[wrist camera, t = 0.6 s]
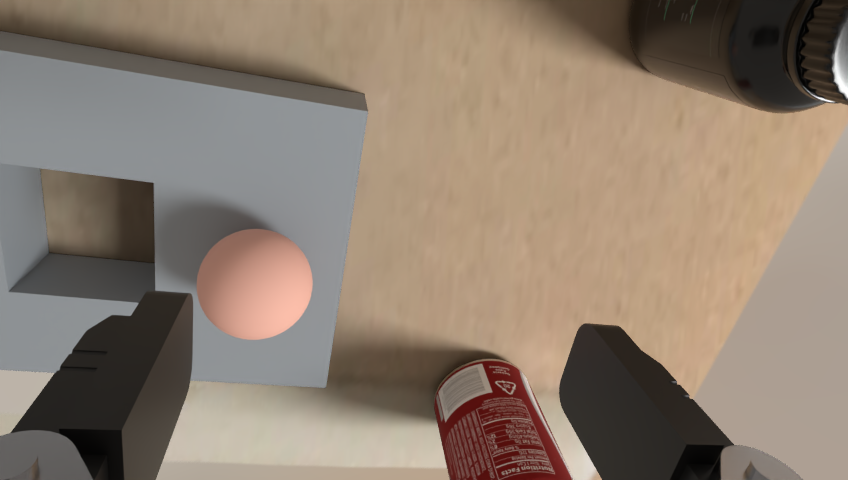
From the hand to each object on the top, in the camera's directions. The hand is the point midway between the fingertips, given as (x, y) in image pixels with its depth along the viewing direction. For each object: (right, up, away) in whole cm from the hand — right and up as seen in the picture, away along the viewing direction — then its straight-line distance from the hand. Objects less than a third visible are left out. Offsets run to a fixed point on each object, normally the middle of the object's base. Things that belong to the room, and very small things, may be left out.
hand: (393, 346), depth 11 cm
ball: (-7, 0, +13) cm, 15 cm away
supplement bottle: (+14, +14, +17) cm, 27 cm away
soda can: (+4, -8, +27) cm, 28 cm away
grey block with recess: (-12, +4, +18) cm, 22 cm away
